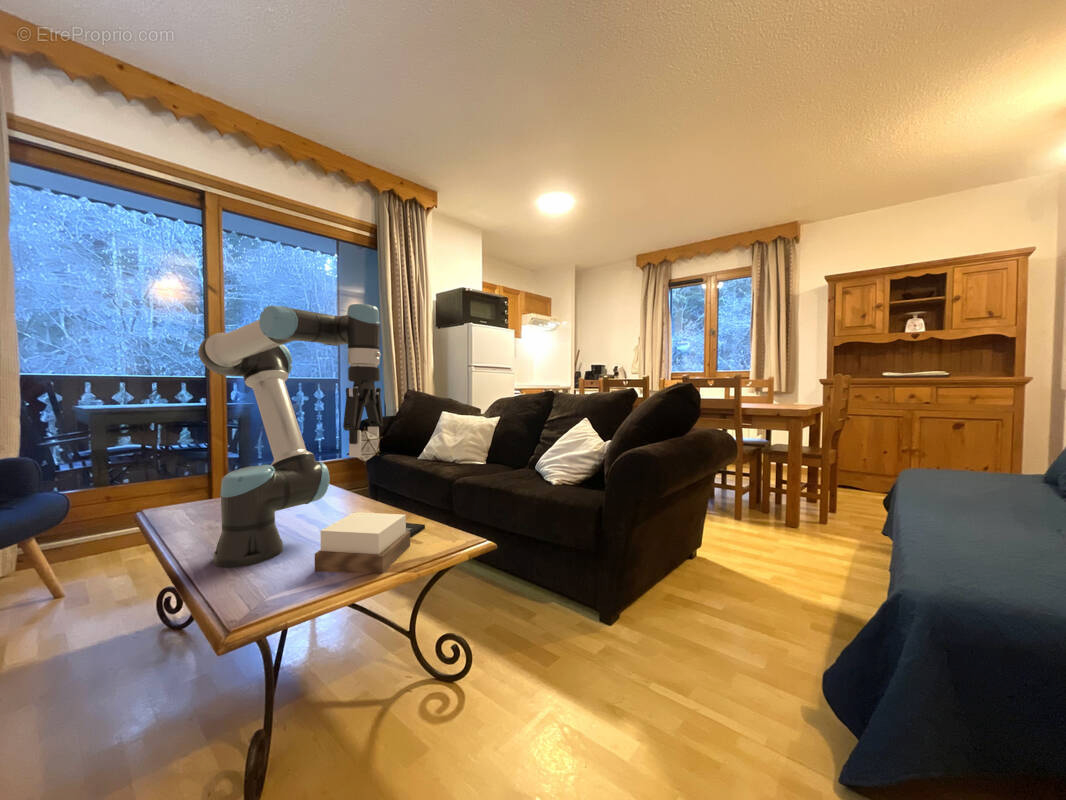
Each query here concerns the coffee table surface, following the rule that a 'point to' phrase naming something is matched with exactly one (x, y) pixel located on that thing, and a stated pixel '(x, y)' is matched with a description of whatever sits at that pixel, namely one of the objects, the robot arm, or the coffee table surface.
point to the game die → (368, 445)
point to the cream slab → (363, 533)
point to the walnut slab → (361, 558)
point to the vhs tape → (414, 528)
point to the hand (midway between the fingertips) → (364, 453)
